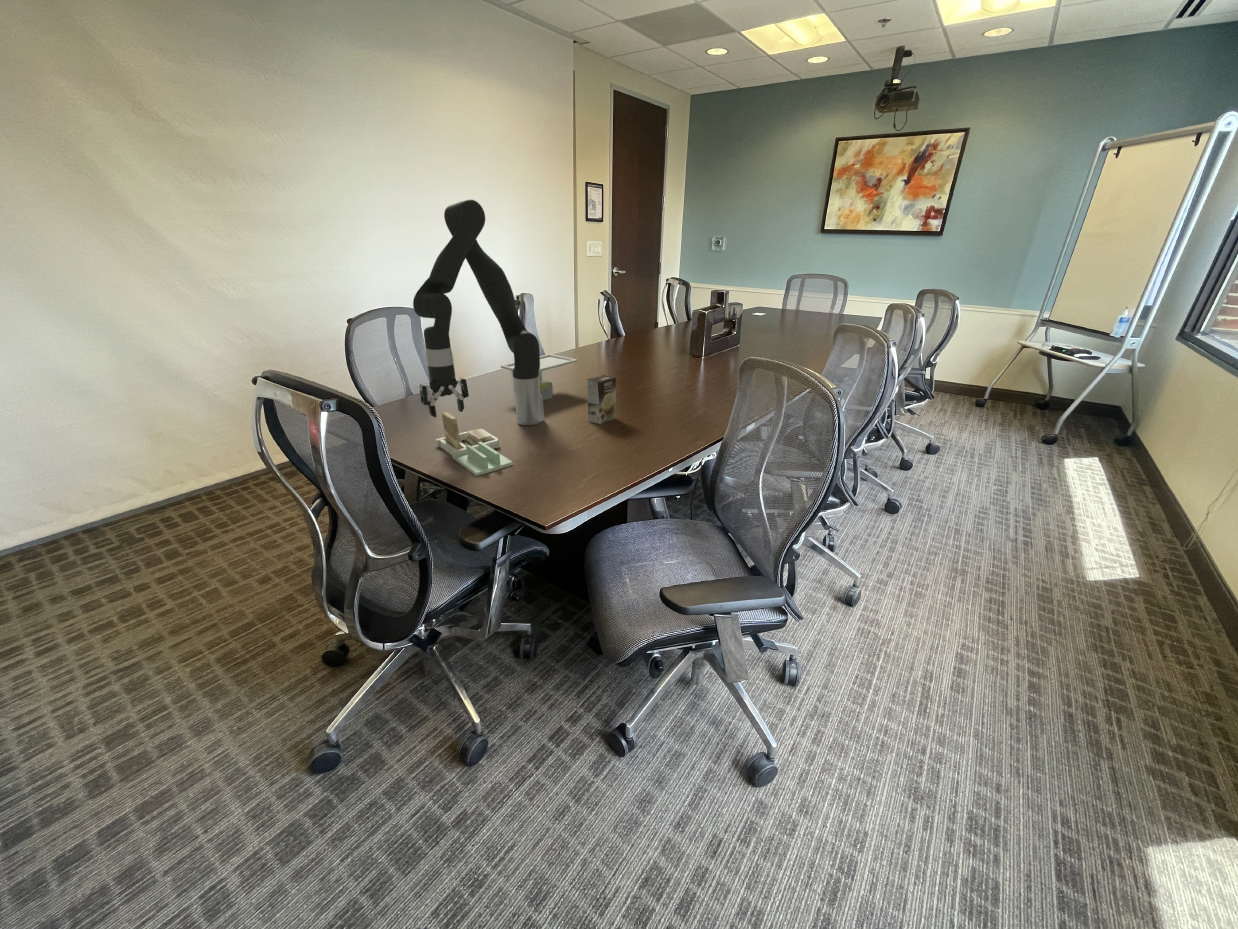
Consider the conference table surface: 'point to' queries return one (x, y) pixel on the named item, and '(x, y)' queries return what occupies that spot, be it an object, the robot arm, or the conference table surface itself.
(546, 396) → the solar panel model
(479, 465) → the stand
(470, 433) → the offcut stack
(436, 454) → the conference table surface
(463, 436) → the rack
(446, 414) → the wooden board
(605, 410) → the coffee box
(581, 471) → the conference table surface
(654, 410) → the conference table surface
